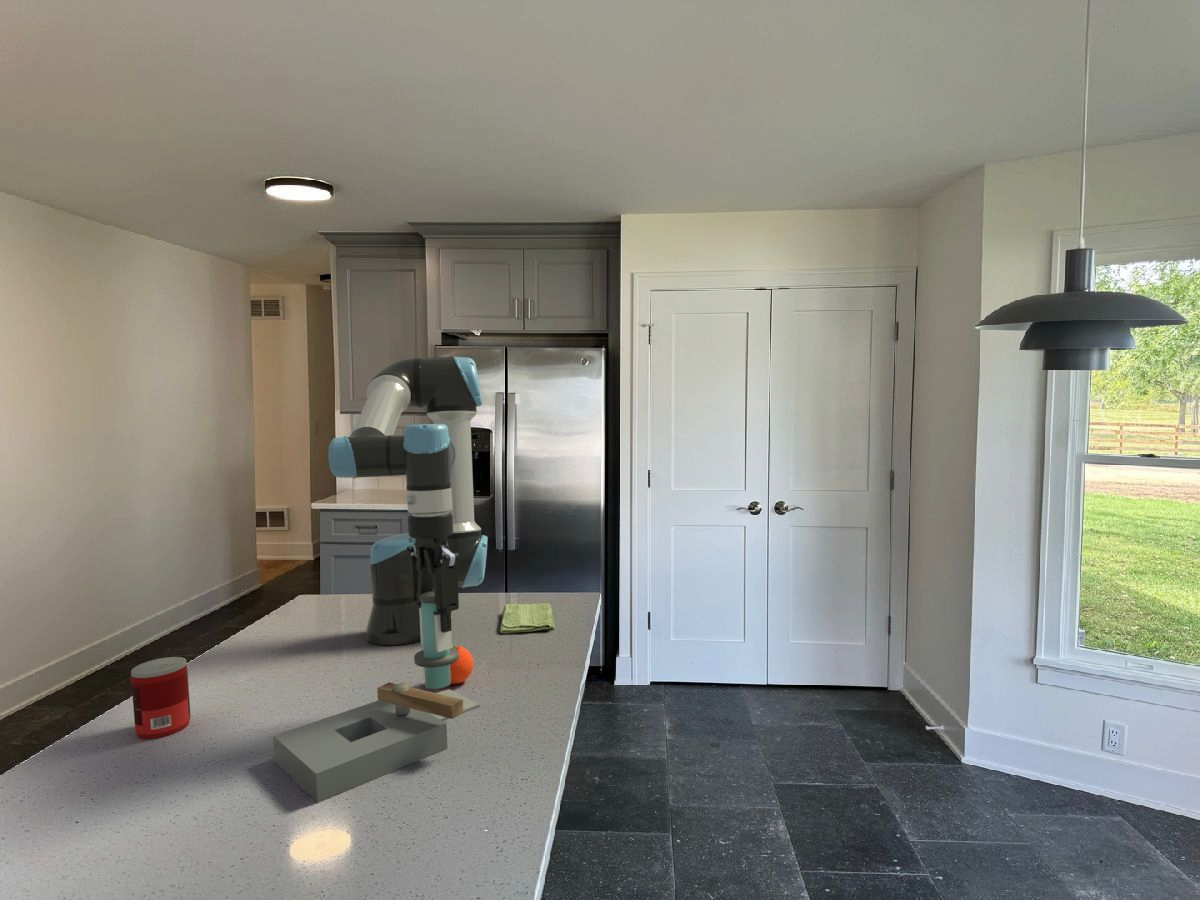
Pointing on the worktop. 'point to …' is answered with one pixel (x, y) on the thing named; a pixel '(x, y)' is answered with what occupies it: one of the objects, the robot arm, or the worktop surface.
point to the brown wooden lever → (419, 700)
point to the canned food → (160, 697)
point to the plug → (433, 648)
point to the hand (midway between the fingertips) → (436, 645)
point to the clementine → (461, 666)
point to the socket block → (356, 747)
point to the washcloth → (526, 618)
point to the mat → (467, 702)
